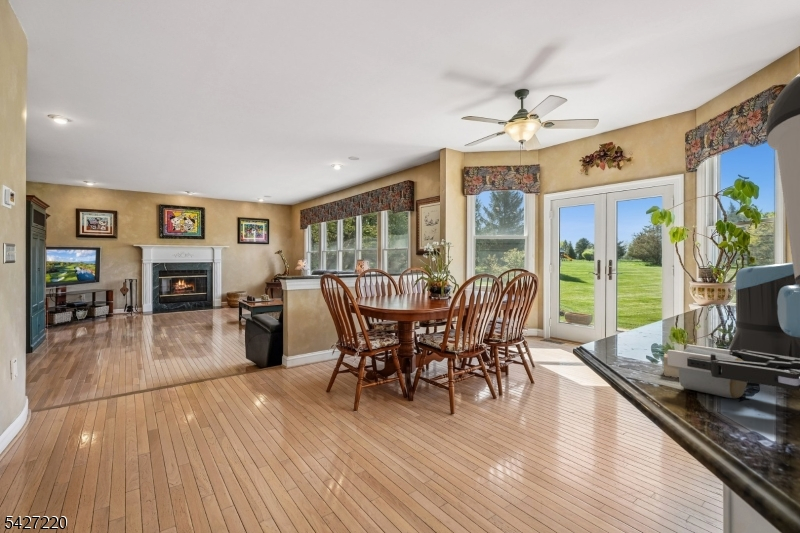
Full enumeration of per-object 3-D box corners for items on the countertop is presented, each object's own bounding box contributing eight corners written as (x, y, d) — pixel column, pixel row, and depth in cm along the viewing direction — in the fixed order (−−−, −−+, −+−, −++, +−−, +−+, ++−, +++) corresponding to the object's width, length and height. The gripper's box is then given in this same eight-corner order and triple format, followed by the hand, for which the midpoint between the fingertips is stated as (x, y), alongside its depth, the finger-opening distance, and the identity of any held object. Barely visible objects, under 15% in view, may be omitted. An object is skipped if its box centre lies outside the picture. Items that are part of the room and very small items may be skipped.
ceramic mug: (736, 404, 61) (735, 357, 61) (677, 391, 68) (676, 348, 68) (755, 393, 67) (755, 350, 67) (699, 382, 74) (699, 342, 74)
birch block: (664, 371, 81) (664, 353, 81) (688, 374, 79) (687, 355, 79) (663, 376, 78) (663, 356, 78) (688, 379, 76) (687, 359, 76)
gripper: (858, 429, 46) (653, 383, 65) (882, 397, 57) (700, 366, 76) (857, 368, 46) (652, 340, 65) (881, 348, 57) (699, 329, 76)
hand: (678, 354), depth 71 cm, fingers closed on ceramic mug, 7 cm apart
